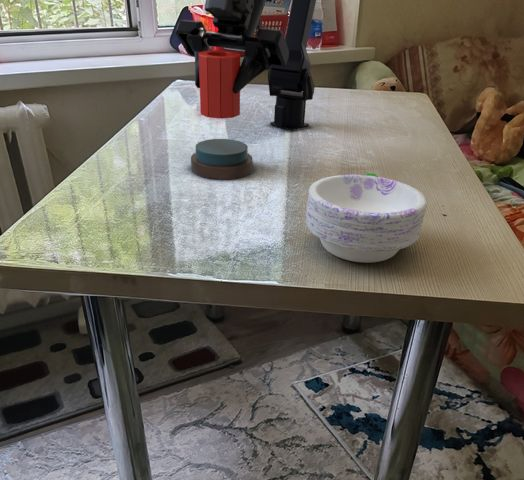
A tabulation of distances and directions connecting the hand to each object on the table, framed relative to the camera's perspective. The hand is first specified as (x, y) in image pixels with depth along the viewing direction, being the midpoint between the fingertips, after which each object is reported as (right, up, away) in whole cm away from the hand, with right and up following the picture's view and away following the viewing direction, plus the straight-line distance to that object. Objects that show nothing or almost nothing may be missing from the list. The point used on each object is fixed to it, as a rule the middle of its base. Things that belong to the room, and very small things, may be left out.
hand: (215, 89), depth 89 cm
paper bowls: (+21, -29, -14) cm, 38 cm away
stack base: (0, -10, +9) cm, 14 cm away
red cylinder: (+1, -2, +3) cm, 4 cm away
